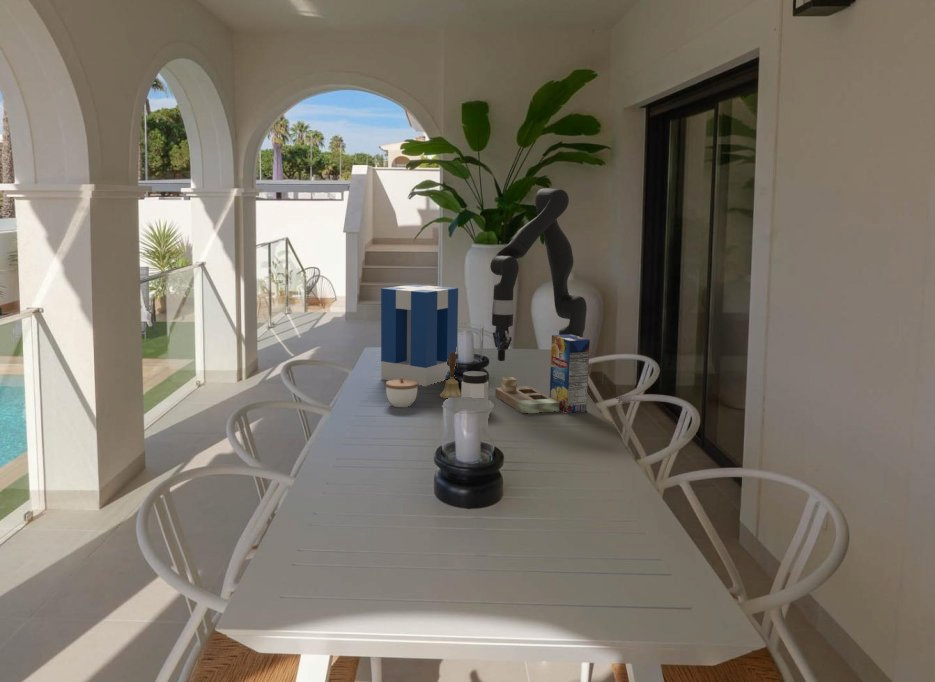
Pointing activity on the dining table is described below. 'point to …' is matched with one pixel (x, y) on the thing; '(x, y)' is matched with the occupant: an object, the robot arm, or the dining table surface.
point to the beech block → (509, 384)
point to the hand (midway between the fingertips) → (501, 360)
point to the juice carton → (569, 372)
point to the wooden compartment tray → (528, 400)
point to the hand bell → (451, 381)
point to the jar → (475, 384)
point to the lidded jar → (401, 392)
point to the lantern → (418, 332)
